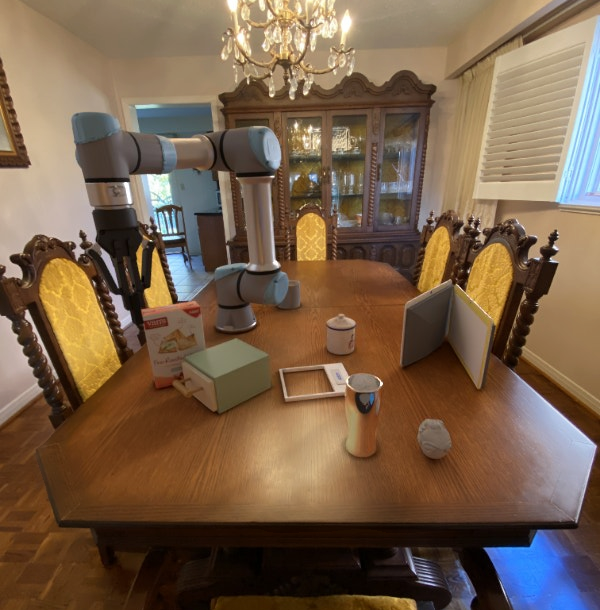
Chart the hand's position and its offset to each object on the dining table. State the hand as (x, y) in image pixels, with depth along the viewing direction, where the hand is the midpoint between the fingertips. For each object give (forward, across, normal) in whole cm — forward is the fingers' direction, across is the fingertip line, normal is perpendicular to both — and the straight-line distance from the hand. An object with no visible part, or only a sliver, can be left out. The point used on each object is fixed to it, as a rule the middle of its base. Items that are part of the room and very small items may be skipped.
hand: (138, 322), depth 74 cm
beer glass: (+23, +24, -42) cm, 53 cm away
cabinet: (+22, +18, -5) cm, 29 cm away
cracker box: (+23, +11, +9) cm, 27 cm away
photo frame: (+22, +35, -19) cm, 46 cm away
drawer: (+22, +14, -5) cm, 26 cm away
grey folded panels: (+23, +69, -34) cm, 81 cm away
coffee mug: (+23, +71, +34) cm, 82 cm away
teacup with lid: (+23, +56, -10) cm, 61 cm away
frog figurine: (+23, +32, -53) cm, 66 cm away
